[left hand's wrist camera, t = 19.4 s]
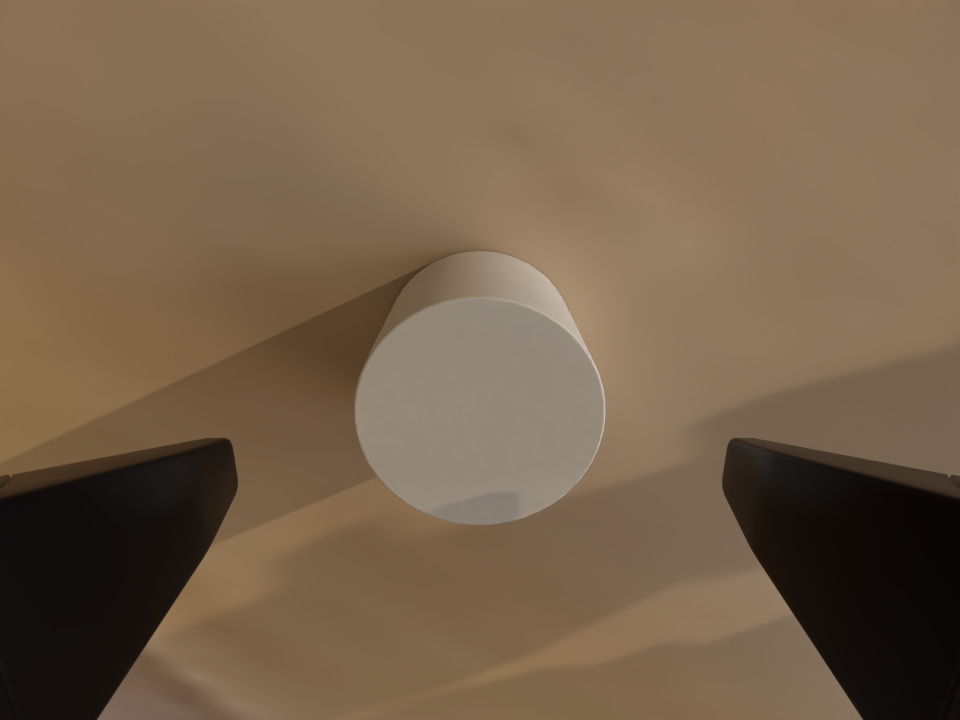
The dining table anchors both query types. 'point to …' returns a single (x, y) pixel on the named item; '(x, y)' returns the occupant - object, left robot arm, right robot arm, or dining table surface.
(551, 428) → the canister
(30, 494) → the left robot arm
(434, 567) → the dining table surface
